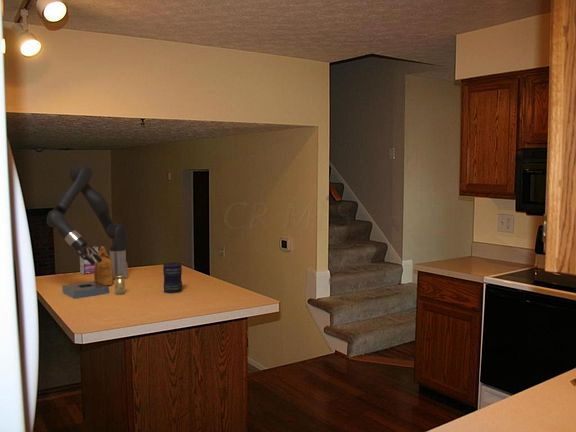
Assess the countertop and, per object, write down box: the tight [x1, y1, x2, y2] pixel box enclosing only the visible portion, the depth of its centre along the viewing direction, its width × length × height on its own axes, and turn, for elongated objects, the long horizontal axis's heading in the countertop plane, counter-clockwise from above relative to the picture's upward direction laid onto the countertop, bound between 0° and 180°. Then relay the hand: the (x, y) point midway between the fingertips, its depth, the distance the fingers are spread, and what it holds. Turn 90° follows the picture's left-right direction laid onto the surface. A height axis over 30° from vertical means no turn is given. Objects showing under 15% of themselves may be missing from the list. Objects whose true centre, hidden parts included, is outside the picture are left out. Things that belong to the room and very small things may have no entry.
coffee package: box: [93, 245, 113, 286], centre depth 304 cm, size 10×12×22 cm
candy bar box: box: [79, 246, 100, 275], centre depth 341 cm, size 11×5×16 cm, turn 143°
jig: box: [61, 280, 110, 300], centre depth 283 cm, size 18×18×4 cm
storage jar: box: [162, 262, 183, 294], centre depth 287 cm, size 10×10×15 cm
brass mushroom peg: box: [114, 274, 126, 296], centre depth 281 cm, size 6×6×10 cm
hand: (97, 262), depth 281 cm, fingers open, 8 cm apart
